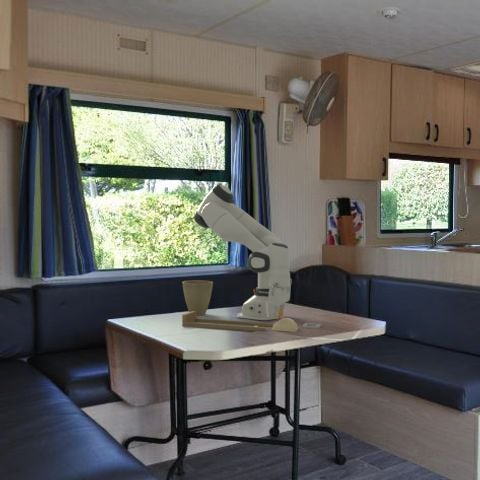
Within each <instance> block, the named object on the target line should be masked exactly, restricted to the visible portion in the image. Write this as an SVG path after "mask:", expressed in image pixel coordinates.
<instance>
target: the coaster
mask: <svg viewBox="0 0 480 480" xmlns="http://www.w3.org/2000/svg"><path fill="white" fill-rule="evenodd" d="M321 327H322V323H314V322H313V323H311V322H305V323H304V324H302V326H301V328H302V329H313V330H314V329H315V330H319V329H320V328H321Z"/></svg>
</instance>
